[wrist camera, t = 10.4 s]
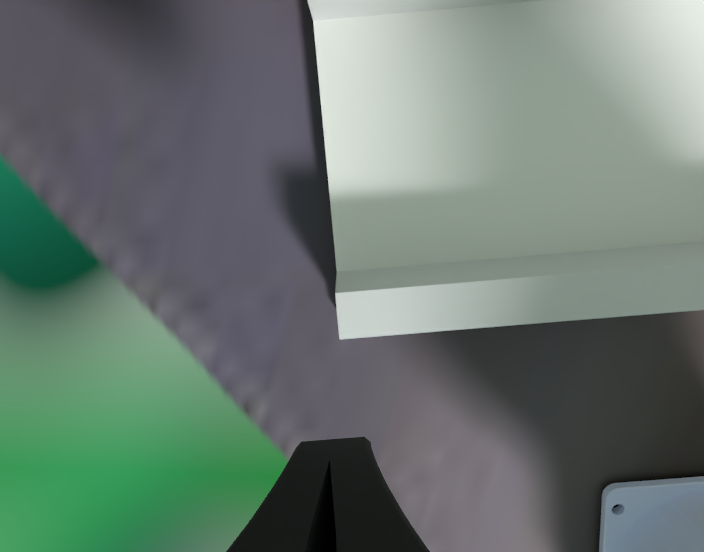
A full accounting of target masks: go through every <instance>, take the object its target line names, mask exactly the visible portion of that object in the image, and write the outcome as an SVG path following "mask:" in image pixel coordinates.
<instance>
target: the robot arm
mask: <svg viewBox="0 0 704 552" xmlns="http://www.w3.org/2000/svg"><path fill="white" fill-rule="evenodd" d="M617 504H619V505H618V506H617V507H616V508H613V507H614V506H615V505H617ZM226 552H430V551H429V550H428V549H427V547H426V546H425V544H424V543H423V542H422V540H421V539H420V537H419V536H418V534H417V533H416V531H415V530H414V529H413V527H412V526H411V524H410V522H409V521H408V519H407V518H406V516H405V515H404V513H403V512H402V510H401V508H400V506H399V505H398V503H397V501H396V499H395V498H394V496H393V494H392V493H391V491H390V489H389V487H388V485H387V484H386V482H385V480H384V478H383V476H382V473H381V471H380V469H379V467H378V465H377V462H376V460H375V457H374V455H373V452H372V448H371V443H370V441H369V440H367V439H366V438H365V437H356V438H343V439H331V440H318V441H305V442H301V443H300V444H299V445H298V446H297V447H296V449H295V451H294V453H293V455H292V456H291V458H290V460H289V462H288V463H287V465H286V467H285V469H284V470H283V472H282V473H281V475H280V477H279V478H278V480H277V481H276V483H275V485H274V486H273V488H272V489H271V491H270V492H269V494H268V495H267V497H266V498H265V500H264V501H263V503H262V504H261V506H260V507H259V509H258V510H257V511H256V513H255V514H254V516H253V517H252V519H251V520H250V521H249V523H248V524H247V525H246V527H245V528H244V530H243V531H242V532H241V533H240V535H239V536H238V537H237V538H236V540H235V541H234V542H233V544H232V545H231V546H230V548H229V549H228V550H227V551H226ZM599 552H704V476H700V477H687V478H674V479H661V480H648V481H635V482H623V483H613V484H610V485H608V486H607V487H606V488H605V489H604V490H603V493H602V507H601V525H600V542H599Z"/></svg>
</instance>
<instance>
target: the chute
mask: <svg viewBox="0 0 704 552" xmlns="http://www.w3.org/2000/svg"><path fill="white" fill-rule="evenodd" d="M307 1H308V5H309V8H310V12H311V15H312V19H313V25H314V36H315V46H316V57H317V68H318V78H319V89H320V99H321V110H322V121H323V131H324V142H325V153H326V163H327V174H328V184H329V195H330V206H331V216H332V227H333V238H334V248H335V259H336V269H337V275H336V288H335V297H336V307H337V318H338V328H339V339H351V338H363V337H375V336H388V335H400V334H412V333H425V332H437V331H449V330H462V329H474V328H486V327H499V326H511V325H523V324H536V323H548V322H560V321H573V320H585V319H597V318H610V317H622V316H634V315H646V314H659V313H671V312H683V311H696V310H704V0H307Z"/></svg>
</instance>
